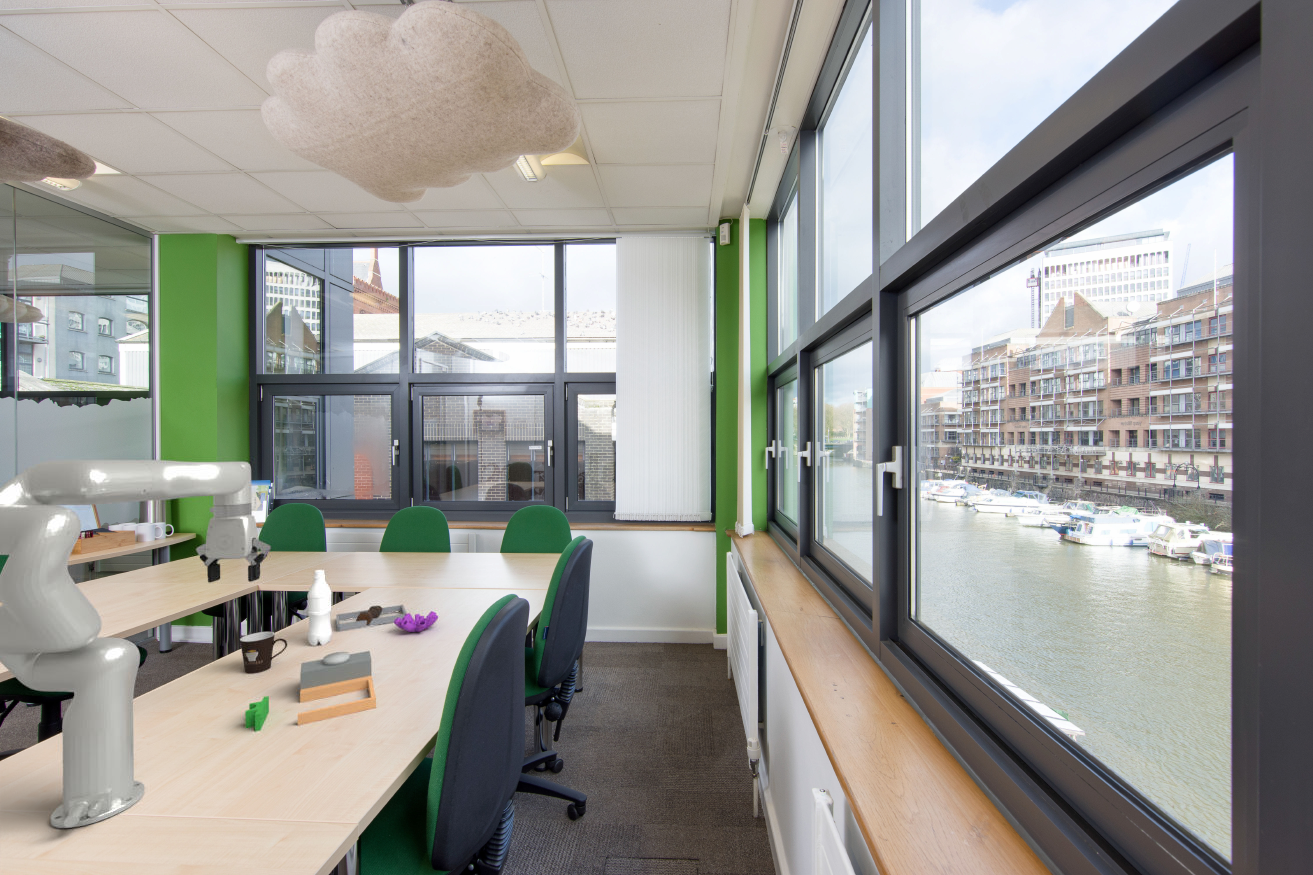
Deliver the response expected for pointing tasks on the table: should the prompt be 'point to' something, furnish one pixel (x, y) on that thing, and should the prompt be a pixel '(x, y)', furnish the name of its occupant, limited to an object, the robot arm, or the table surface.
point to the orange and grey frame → (336, 684)
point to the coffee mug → (258, 651)
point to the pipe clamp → (257, 714)
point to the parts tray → (364, 622)
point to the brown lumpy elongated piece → (370, 614)
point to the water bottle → (319, 610)
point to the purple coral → (416, 622)
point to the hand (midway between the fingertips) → (234, 580)
